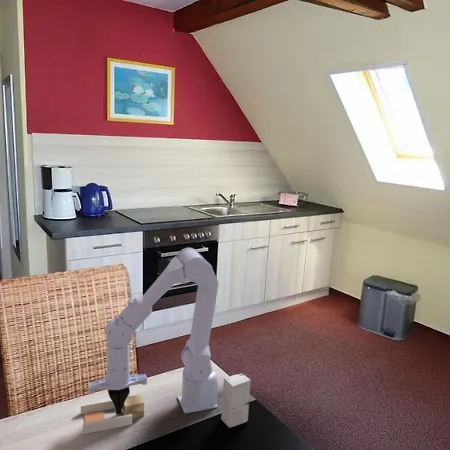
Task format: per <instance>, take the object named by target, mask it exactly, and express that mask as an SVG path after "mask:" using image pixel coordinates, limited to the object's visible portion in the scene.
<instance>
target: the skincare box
mask: <svg viewBox="0 0 450 450" xmlns="http://www.w3.org/2000/svg"><path fill="white" fill-rule="evenodd" d="M251 381H252V380H251V379H250V378H249V377H247V376H246V375H245V374H244V373H243V372H242V373H239V374H233V375H231V376H228V377H224V378H223V386H222V401H221V402H222V403H221V404H222V405H221V415H220V416H221V417H220V419H221V420H222V422H223V423H224V424H225V425H226V426H227V427H228V428H229V429H231V428H232V427H236V426H239V425H241V424H244V423H247V422H248V421H249V409H250V395H251Z"/></svg>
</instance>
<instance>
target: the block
mask: <svg viewBox="0 0 450 450" xmlns="http://www.w3.org/2000/svg"><path fill="white" fill-rule="evenodd" d="M122 413H123V416H124V415H129V414H132V419H136V418H143V417H145V401H144V397H143V394H142V393H139V394H134V395H128V397H127V398H126V400H125V402H124V405H123V408H122Z"/></svg>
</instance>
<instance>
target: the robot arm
mask: <svg viewBox="0 0 450 450" xmlns="http://www.w3.org/2000/svg"><path fill="white" fill-rule="evenodd" d="M187 279H188V280H190V281H191V282H193V283H195V284H196V285H197V289H196V298H195V303H194V311H193V316H192V324H191V329H190V335H189V339H188V340H186V343H185V347H184V348H183V350H182V352H181V355H180V358H181V361H182V363H183V364H184V367H183V370H182V380H181V381H182V382H181V383H182V384H181V386H182V388H181V394H178V395H177V397H176V398H177V399H178V402H179V404H180V406H181V408H182V411H183V413H184V414H190V413H195V412H201V411H205V410H211V409H216V408H218V403H217V402H218V400H217V399H218V387H219V386H218V378H217V375H216V372H215V370H213V366H212V363H211V358H212V355H211V349H210V345H209V344H210V337H211V331H212V324H213V320H214V319H213V318H214V313H215V307H216V301H217V295H218V289H219V280H218V278H217V276H216V274H215V271H214V270H213V266H212V265H211V263H210V262H208V261H207V260H206V259H205V258H204V256H203V255H202V254H200V253H199V252H198V250H196V249H195V248H193V247H186V248H185V247H184V248H183V249H181V250H180V251H179V252H178V253H177V255H175V256H174V257H173V258H171V260H170V261H169V263H168V264H167V266H166V267H165V268H164V270H163V271H162V272H161V274H159V276H157V279H156V280H155V281H154V282H153V283H152V284H151V286H150V287H149V288H148V289H147V290H146V291H145V293H144V294H143V295H142V296H136V297H135V296H134V298H133V299H129V300H128V301H127V302H126V305H127V306H126V307H125V308H124V309H123V310H122V311H121V312H120V313H119V314H117V315H115V316H114V318H112V319H111V320H109V321H108V322H107V324H106V325H105V328H104V332H105V335H106V340H107V341H106V377H105V378H104V377H103V378H101V379H98V380H96V381H92V382H89V383H88V393H89V395H91V394H94V393H95V392H101V391H107V393H108V396H109V398H110V399H111V400H112V402H113V404H114V406H115V409H114V411H115V415H120V414H122V413H123V405H124V402H125V400H126V398H127V397H128V396H130V393H131V392H130V391H131V389H130V387H132V386H136V385H137V386H138V385H141V384H142V386H145V385H147V384H148V377H147V375H146V373H144V374H132V373H131V372H130V370H131V369H130V363H131V361H130V358H131V356H130V353H131V352H130V343H131V342H132V339H133V334H134V333H135V332H136V331H137V329H138V328H139V327H140V326H141V325H142V324H143V323H144V322H145V321H146V319H147V318H149V316H150V315H151V314H152V313H153V305H154V304H156V303H157V301H159V299H160V298H162V296H163V295H165V294H166V293H167V292H168V290H170V289H171V288H172V287H173V286H174V285H177V284H188V281H187ZM130 373H131V374H130Z"/></svg>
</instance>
